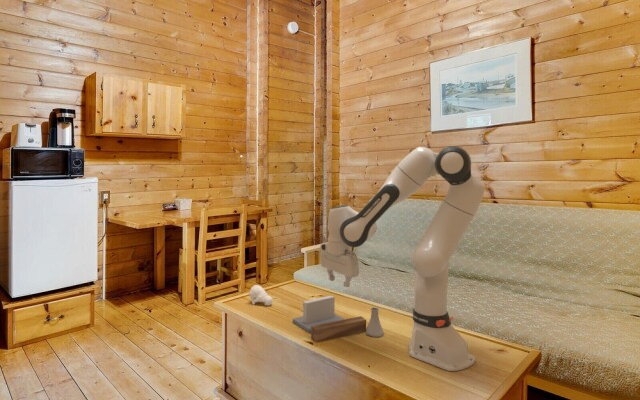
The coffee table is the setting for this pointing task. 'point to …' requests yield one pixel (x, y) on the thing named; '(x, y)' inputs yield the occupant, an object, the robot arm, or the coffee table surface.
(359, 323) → the walnut stick
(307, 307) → the stand
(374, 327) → the flask
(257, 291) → the white animal figurine
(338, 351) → the coffee table surface
